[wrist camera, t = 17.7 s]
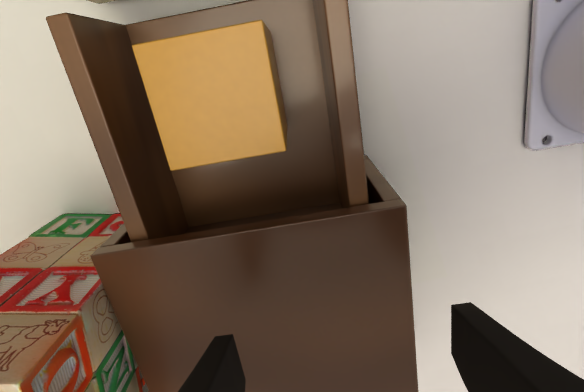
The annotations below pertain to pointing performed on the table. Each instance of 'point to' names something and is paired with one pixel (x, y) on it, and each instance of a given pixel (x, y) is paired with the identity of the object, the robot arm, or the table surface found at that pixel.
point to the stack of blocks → (62, 313)
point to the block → (215, 94)
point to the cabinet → (274, 298)
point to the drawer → (237, 173)
